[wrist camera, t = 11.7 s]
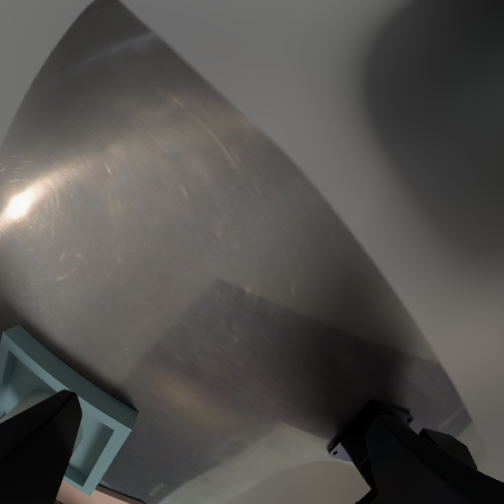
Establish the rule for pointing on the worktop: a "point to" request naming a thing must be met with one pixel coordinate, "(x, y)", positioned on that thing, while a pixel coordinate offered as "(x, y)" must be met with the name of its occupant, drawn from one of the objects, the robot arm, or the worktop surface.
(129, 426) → the tray
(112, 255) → the worktop surface
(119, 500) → the plate
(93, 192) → the worktop surface
